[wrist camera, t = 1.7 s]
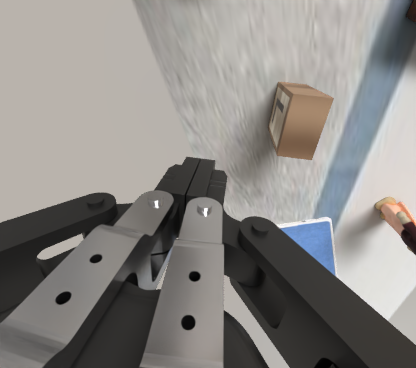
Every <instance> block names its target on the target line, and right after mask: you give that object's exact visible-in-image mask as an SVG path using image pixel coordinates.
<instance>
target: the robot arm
mask: <svg viewBox="0 0 416 368" xmlns="http://www.w3.org/2000/svg"><path fill="white" fill-rule="evenodd" d="M226 182H227V175H226V174H225V172H224V171H221V170H215V160H208V159H200V158H193V157H186V159H185V160H184V162H183V164H182V165H177V164H175V165H174V166H172V167H170V168H169V169H168V170H167V172H166V174H165V175H164V176H163V179H161V181H160V182H159V184H158V185H157V187H156V188H155V190H154V191H149V192H146V193H144V194H142V195H141V196H140V197H139V198H138V199H137V200H136V201H135V202H134V203H129V204H116V199H115V197H114V196H113V195H111V194H108V193H93V194H89V195H86V196H83V197H79V198H76V199H73V200H70V201H67V202H64V203H61V204H57V205H54V206H51V207H48V208H45V209H42V210H39V211H36V212H32V213H29V214H26V215H23V216H20V217H17V218H14V219H11V220H7V221H4V222H2V223H0V368H269V367H268V365H267V364H266V362H265V360H264V359H263V357H262V356H261V354H260V352H259V350H258V349H257V347H256V345H255V344H254V342H253V340H252V339H251V337H250V336H249V334H248V333H247V332H246V330H245V329H244V328H243V326H242V325H241V324H240V323H239V322H238V321H237V320H236V319H235V318H234V317H232V316H231V315H230V314H229V313H227V312H226V311H224V275H227V276H228V277H230V282H231V285H232V286H233V288H234V289H235V291H236V292H237V293H238V295H239V296H240V297H241V299H242V300H243V302H244V303H245V305H246V306H247V307H248V309H249V310H250V312H251V313H252V315H253V316H254V317H255V319H256V320H257V322H258V323H259V325H260V326H261V327H262V329H263V330H264V331H265V333H266V334H267V336H268V337H269V339H270V340H271V341H272V343H273V344H274V345H275V347H276V349H277V350H278V351H279V353H280V354H281V356H282V357H283V358H284V360H285V361H286V363H287V364H288V366H289V367H290V368H416V345H415V344H414V343H413V342H411V341H410V340H409V339H408V338H407V337H406V336H404V335H403V334H402V333H401V332H400V331H398V329H396V328H395V327H394V326H393V325H392V324H391V323H389V322H388V321H387V320H386V319H385V318H384V317H382V316H381V315H380V314H379V313H378V312H377V311H375V310H374V309H373V308H372V307H371V306H370V305H368V304H367V303H366V302H365V301H364V300H363V299H361V298H360V297H359V296H358V295H357V294H356V293H354V292H353V291H352V290H351V289H350V288H349V287H347V286H346V285H345V284H344V283H343V282H342V281H340V280H339V279H338V278H337V277H336V276H335V275H333V274H332V273H331V272H330V271H329V270H328V269H326V268H325V267H324V266H323V265H322V264H321V263H319V262H318V261H317V260H316V259H315V258H314V257H312V256H311V255H310V254H309V253H308V252H307V251H305V250H304V249H303V248H302V247H301V246H300V245H299V244H297V243H296V242H295V241H294V240H293V239H292V238H290V237H289V236H288V235H287V234H286V233H285V232H283V231H282V230H281V229H280V228H279V227H278V226H276V225H275V224H274V223H273V222H271V221H270V220H268V219H265V218H262V217H256V216H253V217H247V218H245V219H244V220H242V222H240V221H238V220H235V219H233V218H232V217H230V216H229V215H227V214H226V212H225V211H224V209H223V203H224V196H225V189H226ZM81 233H82V235H83V238H84V240H83V241H82V242H81V243H80V244H79V245H78V246H77V247H75V248H72V249H70V250H68V251H66V252H63V253H61V254H59V255H57V256H54V257H52V258H50V259H46V260H41V259H38V258H37V255H38V254H39V253H40V252H41V251H42V250H44V249H45V248H48V247H50V246H52V245H55V244H57V243H60V242H62V241H64V240H67V239H69V238H71V237H74V236H77V235H79V234H81ZM176 238H178V239H176ZM167 264H168V266H167ZM166 266H167V270H166V273H165V277H164V281H163V285H162V288H161V289H158V290H156V288H157V285H158V283H159V281H160V279H161V277H162V275H163V272H164V270H165V268H166Z"/></svg>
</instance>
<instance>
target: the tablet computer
mask: <svg viewBox="0 0 416 368" xmlns="http://www.w3.org/2000/svg"><path fill="white" fill-rule="evenodd" d="M276 226H278V227H279V228H280V229H281V230H282V231H283V232H285V233H286V234H287V235H288V236H289V237H290V238H292V239H293V240H294V241H295V242H296V243H297V244H299V245H300V246H301V247H302V248H303V249H304V250H305V251H307V252H308V253H309V254H310V255H311V256H312V257H314V258H315V259H316V260H317V261H318V262H319V263H321V264H322V265H323V266H324V267H325V268H326V269H328V270H329V271H330V272H331V273H332V274H333V275H335V276H336V277H337V267H336V257H335V248H334V236H333V229H332V221H331V219H330V218H329V217H323V218H317V219H310V220H304V221H298V222H292V223H285V224H279V225H276Z"/></svg>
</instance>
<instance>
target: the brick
mask: <svg viewBox="0 0 416 368" xmlns="http://www.w3.org/2000/svg"><path fill="white" fill-rule="evenodd" d="M406 17H408V19H410V20H411V21H414V22H416V0H413V2H412V4H411V6H410V8H409V10H408V13H407V15H406Z"/></svg>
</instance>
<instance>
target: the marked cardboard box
mask: <svg viewBox="0 0 416 368" xmlns="http://www.w3.org/2000/svg"><path fill="white" fill-rule="evenodd" d="M333 99H334V98H332V97H330V96H328V95H326V94H324V93H322V92H320V91H318V90H316V89H314V88H312V87H310V86H308V85H305V84H295V83H286V82H278V86H277V91H276V95H275V100H274V104H273V108H272V113H271V117H270V122H269V126H268V129H269V132H270V135H271V139H272V142H273V145H274V148H275V151H276V154H277V156H283V157H291V158H299V159H307V160H312V158H313V155H314V152H315V149H316V147H317V144H318V141H319V138H320V135H321V133H322V130H323V127H324V124H325V121H326V119H327V116H328V113H329V110H330V107H331V105H332V102H333Z"/></svg>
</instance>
